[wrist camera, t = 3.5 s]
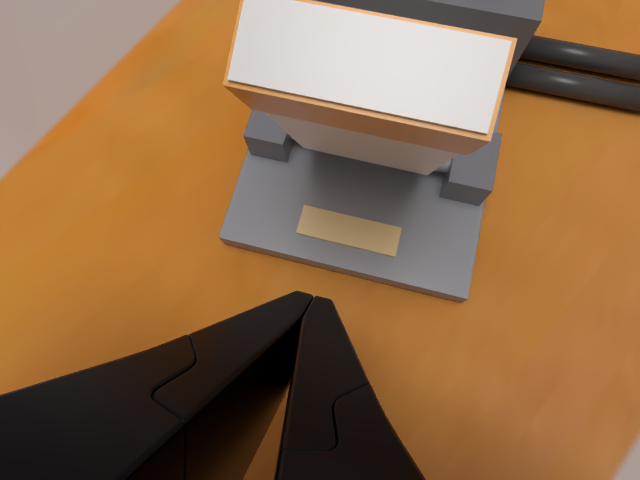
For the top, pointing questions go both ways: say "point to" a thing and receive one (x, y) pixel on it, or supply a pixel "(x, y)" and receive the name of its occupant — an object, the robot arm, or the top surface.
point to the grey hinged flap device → (400, 185)
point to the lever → (369, 81)
